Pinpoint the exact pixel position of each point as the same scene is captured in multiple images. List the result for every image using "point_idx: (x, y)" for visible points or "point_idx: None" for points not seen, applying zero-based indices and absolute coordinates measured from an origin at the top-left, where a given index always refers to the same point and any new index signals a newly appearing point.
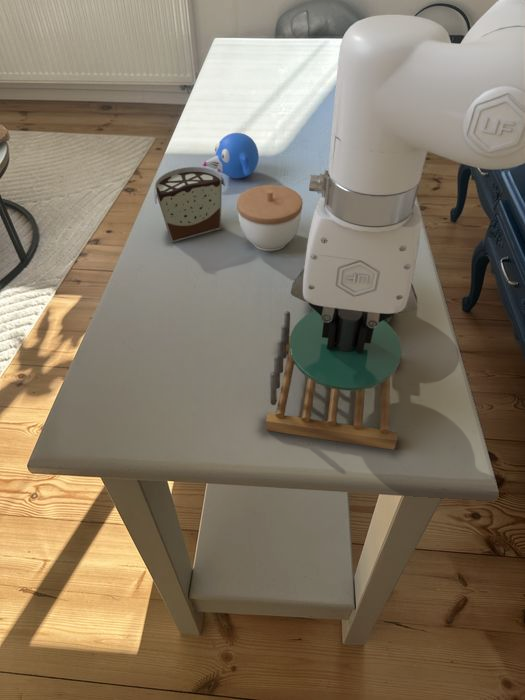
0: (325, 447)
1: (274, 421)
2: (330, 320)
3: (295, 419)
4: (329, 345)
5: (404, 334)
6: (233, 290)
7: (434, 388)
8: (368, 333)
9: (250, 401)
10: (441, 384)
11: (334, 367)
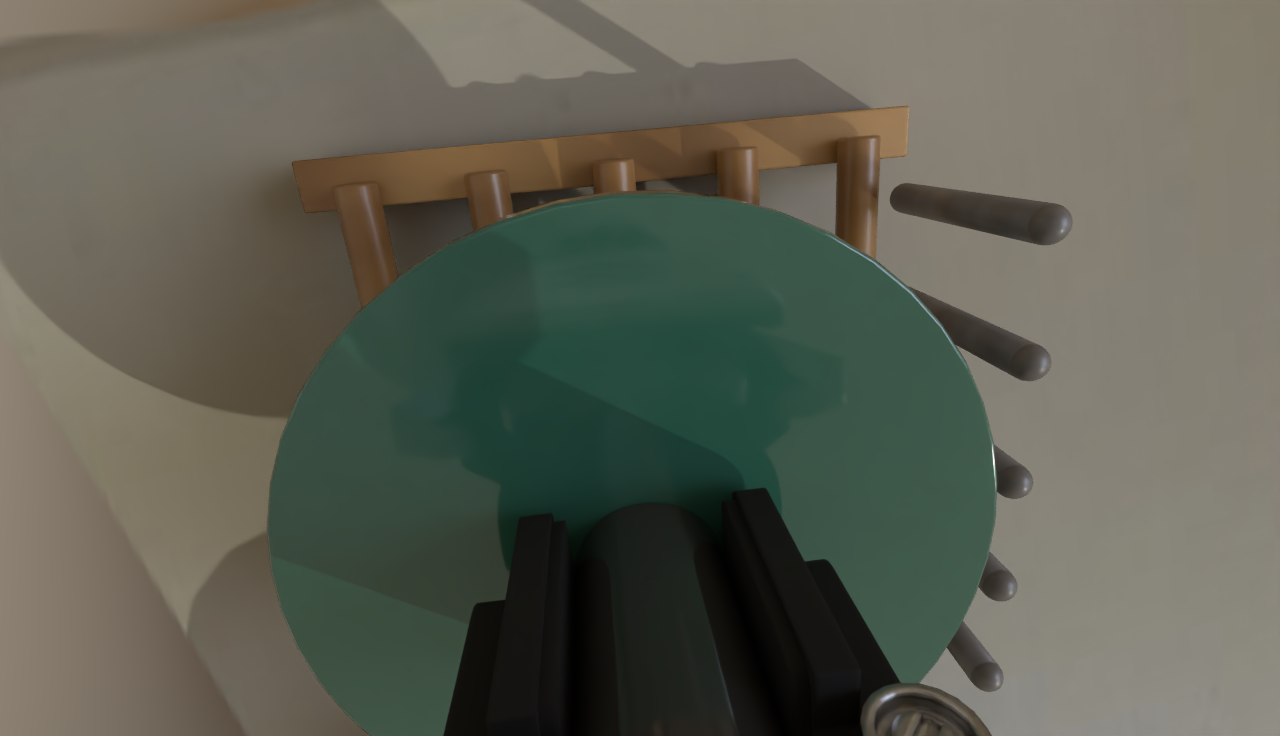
0: (613, 90)
1: (872, 112)
2: (875, 719)
3: (778, 153)
4: (759, 509)
5: None
6: (1073, 715)
7: (243, 508)
8: (490, 679)
9: (957, 241)
10: (221, 534)
11: (685, 357)
